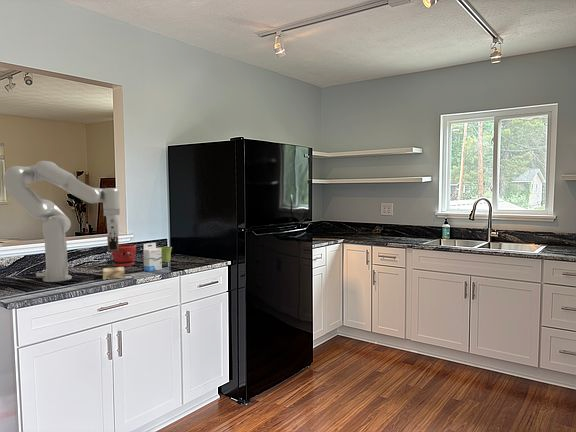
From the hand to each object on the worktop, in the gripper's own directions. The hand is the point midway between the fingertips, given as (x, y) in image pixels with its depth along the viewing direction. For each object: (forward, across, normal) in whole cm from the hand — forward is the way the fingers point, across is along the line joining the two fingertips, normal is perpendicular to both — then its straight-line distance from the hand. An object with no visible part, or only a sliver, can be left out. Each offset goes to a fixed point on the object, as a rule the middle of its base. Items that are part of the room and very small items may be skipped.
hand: (113, 248), depth 221 cm
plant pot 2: (+15, +36, -29) cm, 49 cm away
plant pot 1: (+15, +32, -6) cm, 36 cm away
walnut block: (+1, 0, 0) cm, 1 cm away
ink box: (+15, +11, -20) cm, 27 cm away
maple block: (+15, 0, 0) cm, 15 cm away
